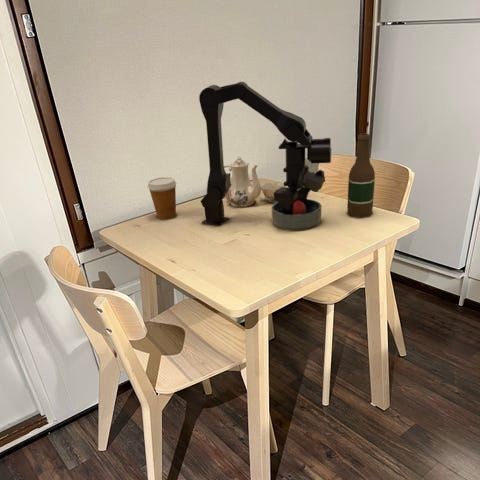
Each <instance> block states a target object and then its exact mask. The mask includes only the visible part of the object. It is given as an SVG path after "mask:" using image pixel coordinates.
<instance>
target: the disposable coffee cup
mask: <svg viewBox="0 0 480 480" xmlns="http://www.w3.org/2000/svg"><path fill="white" fill-rule="evenodd" d="M176 187H177V182H176V180H175V178H173V177H168V176H167V177H166V176H165V177H163V176H162V177H157V178H156V177H155V178H153V179H150V180H148V182H147V188H148V190H149V193H150V196H151V200H152V203H153V206H154V209H155V213H156V216H157V219H159V220H170V219H173V218H175V217H176V216H177V202H176V201H177V200H176V198H177V197H176Z"/></svg>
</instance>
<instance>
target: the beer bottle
mask: <svg viewBox="0 0 480 480" xmlns="http://www.w3.org/2000/svg"><path fill="white" fill-rule="evenodd" d="M370 139H371V134H370V133H365V132H364V133H360V134H358V135H357V148H356V149H357V150H356V156H355V162H354V164H353V165H352V166H351V168H350V171H349V173H348V180H347V181H348V183H347V204H346V205H347V207H346V208H347V209H346V210H347V211H346V212H347V214H348V215H349V216H350V217H353V218H367V217H369V216H370V215H372V213H373V207H374V198H375V197H374V195H375V194H374V193H375V181H376V172H375V169H374V167H373V165H372V163H371V158H370Z"/></svg>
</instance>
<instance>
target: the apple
mask: <svg viewBox="0 0 480 480" xmlns="http://www.w3.org/2000/svg"><path fill="white" fill-rule="evenodd" d="M305 213H306V206H305V204H304V203H303V202H301V201H299V200H297V201H296V202H295V203H294V206H293V214H305Z"/></svg>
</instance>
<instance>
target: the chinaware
mask: <svg viewBox="0 0 480 480" xmlns="http://www.w3.org/2000/svg"><path fill="white" fill-rule="evenodd" d="M249 165H250V162H247V161H245V160H244V159H242V157H241V156H240V155H238V156H237V157H236V159H235V161H233V163H230V164H228V165H226V164H225V165H224V169H225V168H228V171H229V172H231V173H232V174H231V176H230V183H231V187H230V188H229V191H228V192H227V194H226V195H225V198H226V200H227V201H228V202H229V203H230V205H231V207H234V208H235V207H236V208H245V207H250V206H253V205H254V204H255V200H256V199H257V198H258V197H259V196H260V195H261V190H262V194H263V196H264V197H265V199H267V200H268V203H273V204H275V203H277V201H276V200H274V192H275V191H276V190H278V189H279V188H281V187H286V188H287V186H284V184H283V183H281V182H278V181H277V182H273V183H271V182H266V183H264V184H263V185H261V183H260V180H259V177H258V175H257V168H258V165H257V164H255V165H253V167H252V168H251V179H252V183H251V179H250V176H249Z"/></svg>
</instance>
